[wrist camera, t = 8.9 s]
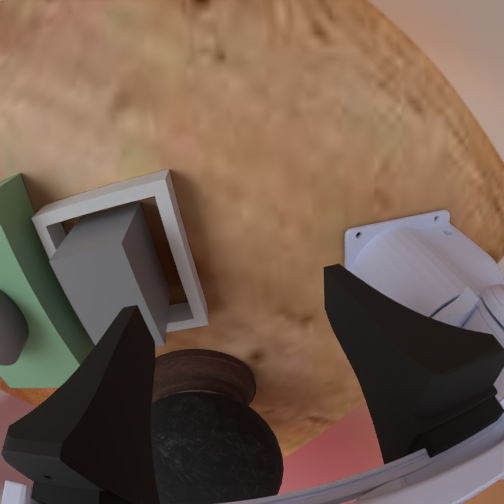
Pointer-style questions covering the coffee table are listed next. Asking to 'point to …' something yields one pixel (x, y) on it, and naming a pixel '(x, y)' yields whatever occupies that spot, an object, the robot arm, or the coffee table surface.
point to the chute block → (113, 271)
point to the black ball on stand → (210, 431)
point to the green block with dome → (49, 288)
